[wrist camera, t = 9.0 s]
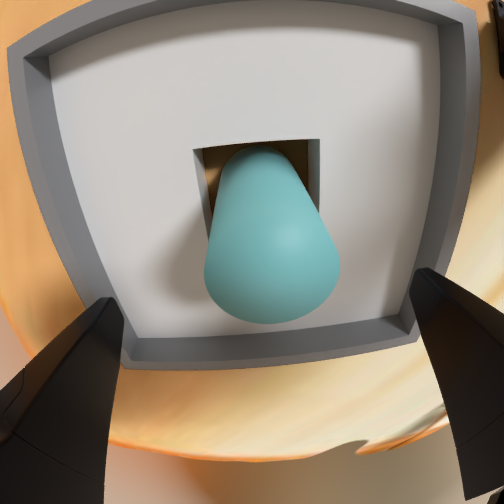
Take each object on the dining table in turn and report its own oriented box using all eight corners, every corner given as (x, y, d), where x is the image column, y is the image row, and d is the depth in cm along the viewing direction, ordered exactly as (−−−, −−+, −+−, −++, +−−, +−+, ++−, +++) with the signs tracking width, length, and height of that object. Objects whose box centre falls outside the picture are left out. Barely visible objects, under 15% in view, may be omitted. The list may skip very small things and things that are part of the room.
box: (423, 17, 9) (475, 11, 5) (394, 298, 20) (416, 341, 17) (58, 47, 10) (6, 48, 6) (138, 321, 21) (124, 368, 17)
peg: (294, 142, 14) (345, 210, 7) (296, 212, 16) (333, 317, 9) (216, 149, 14) (191, 223, 7) (225, 218, 16) (216, 328, 9)
